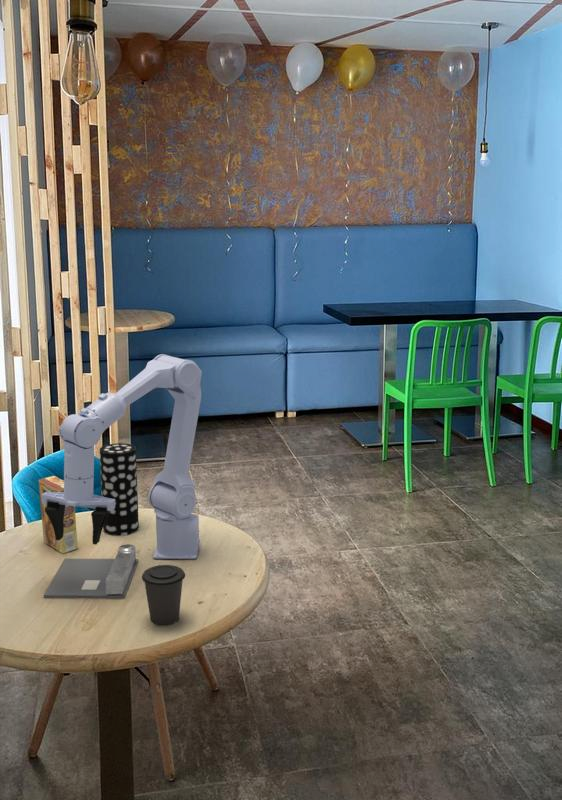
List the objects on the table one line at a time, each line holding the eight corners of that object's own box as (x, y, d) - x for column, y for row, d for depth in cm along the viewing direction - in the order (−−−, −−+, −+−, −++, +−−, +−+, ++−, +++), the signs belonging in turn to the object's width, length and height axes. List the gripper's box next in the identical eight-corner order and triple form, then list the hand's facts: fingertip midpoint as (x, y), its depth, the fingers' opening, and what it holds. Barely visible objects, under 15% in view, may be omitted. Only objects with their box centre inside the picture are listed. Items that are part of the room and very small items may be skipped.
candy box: (78, 549, 192) (75, 484, 188) (61, 554, 189) (57, 489, 185) (58, 537, 198) (54, 474, 194) (41, 542, 195) (37, 479, 191)
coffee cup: (141, 610, 164) (139, 562, 162) (183, 606, 166) (182, 559, 164) (144, 631, 157) (143, 581, 154) (188, 627, 158) (187, 577, 156)
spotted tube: (100, 524, 205) (96, 445, 200) (135, 520, 208) (132, 441, 203) (106, 537, 198) (102, 455, 193) (142, 533, 201) (139, 451, 196)
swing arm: (120, 557, 185) (119, 544, 184) (137, 558, 185) (136, 544, 184) (105, 594, 169) (104, 579, 168) (123, 594, 169) (122, 579, 168)
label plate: (138, 561, 185) (138, 558, 185) (124, 598, 169) (124, 594, 169) (64, 561, 185) (64, 557, 185) (43, 597, 169) (43, 594, 169)
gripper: (35, 477, 166) (34, 543, 168) (107, 484, 164) (105, 551, 166) (50, 467, 172) (49, 531, 175) (119, 474, 171) (117, 539, 173)
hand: (77, 540), depth 171 cm, fingers open, 7 cm apart
